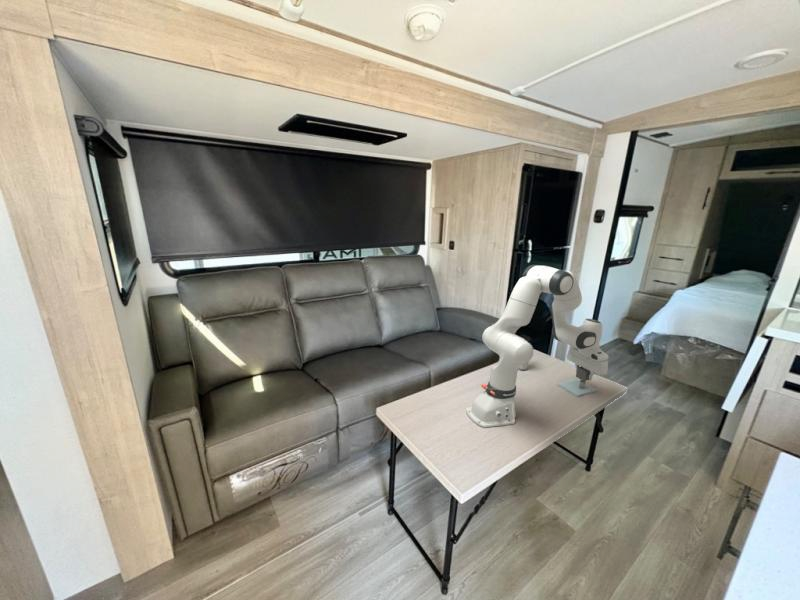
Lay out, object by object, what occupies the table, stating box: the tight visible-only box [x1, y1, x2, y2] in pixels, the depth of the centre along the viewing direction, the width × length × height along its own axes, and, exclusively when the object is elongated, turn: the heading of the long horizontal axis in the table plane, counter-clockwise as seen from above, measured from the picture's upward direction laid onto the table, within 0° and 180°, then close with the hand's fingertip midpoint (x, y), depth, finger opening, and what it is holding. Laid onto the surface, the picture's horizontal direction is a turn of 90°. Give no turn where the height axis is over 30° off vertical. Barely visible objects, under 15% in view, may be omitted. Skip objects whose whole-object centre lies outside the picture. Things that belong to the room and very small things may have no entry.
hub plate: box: [556, 378, 598, 398], centre depth 163 cm, size 14×12×5 cm
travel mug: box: [518, 334, 532, 372], centre depth 182 cm, size 6×7×20 cm
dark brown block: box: [575, 366, 592, 382], centre depth 160 cm, size 5×5×6 cm
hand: (583, 375), depth 160 cm, fingers closed on dark brown block, 5 cm apart
